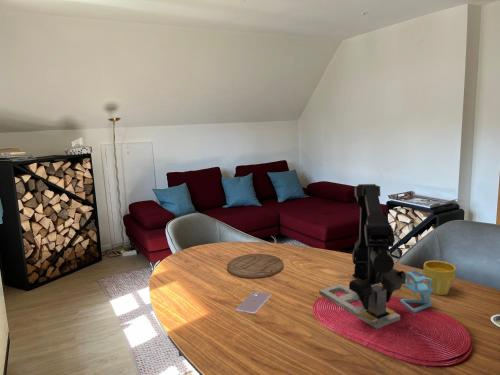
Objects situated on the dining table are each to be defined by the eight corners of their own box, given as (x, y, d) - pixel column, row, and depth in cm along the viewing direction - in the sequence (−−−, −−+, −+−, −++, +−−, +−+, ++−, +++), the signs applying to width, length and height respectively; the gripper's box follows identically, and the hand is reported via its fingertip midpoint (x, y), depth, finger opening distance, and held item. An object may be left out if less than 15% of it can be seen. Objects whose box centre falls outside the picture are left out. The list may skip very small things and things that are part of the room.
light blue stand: (436, 309, 125) (437, 275, 123) (412, 312, 124) (414, 278, 122) (421, 299, 133) (423, 266, 131) (399, 301, 132) (401, 269, 129)
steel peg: (376, 312, 125) (376, 284, 123) (385, 318, 122) (386, 289, 120) (367, 316, 123) (367, 287, 121) (376, 321, 120) (377, 292, 118)
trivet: (293, 262, 172) (293, 258, 172) (265, 284, 151) (265, 279, 151) (246, 254, 185) (246, 250, 185) (215, 273, 165) (215, 269, 164)
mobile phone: (234, 308, 131) (253, 290, 145) (235, 311, 131) (253, 292, 145) (254, 312, 128) (271, 293, 141) (254, 315, 128) (271, 295, 141)
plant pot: (453, 287, 140) (454, 262, 139) (455, 299, 131) (456, 273, 129) (422, 283, 145) (423, 258, 143) (422, 295, 135) (423, 269, 134)
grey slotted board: (340, 287, 145) (340, 282, 144) (400, 319, 120) (400, 314, 120) (319, 294, 140) (319, 289, 140) (377, 329, 116) (377, 323, 115)
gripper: (375, 275, 107) (374, 325, 110) (419, 261, 116) (418, 308, 119) (348, 263, 117) (348, 309, 120) (390, 250, 126) (389, 294, 129)
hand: (376, 305), depth 122 cm, fingers open, 9 cm apart
